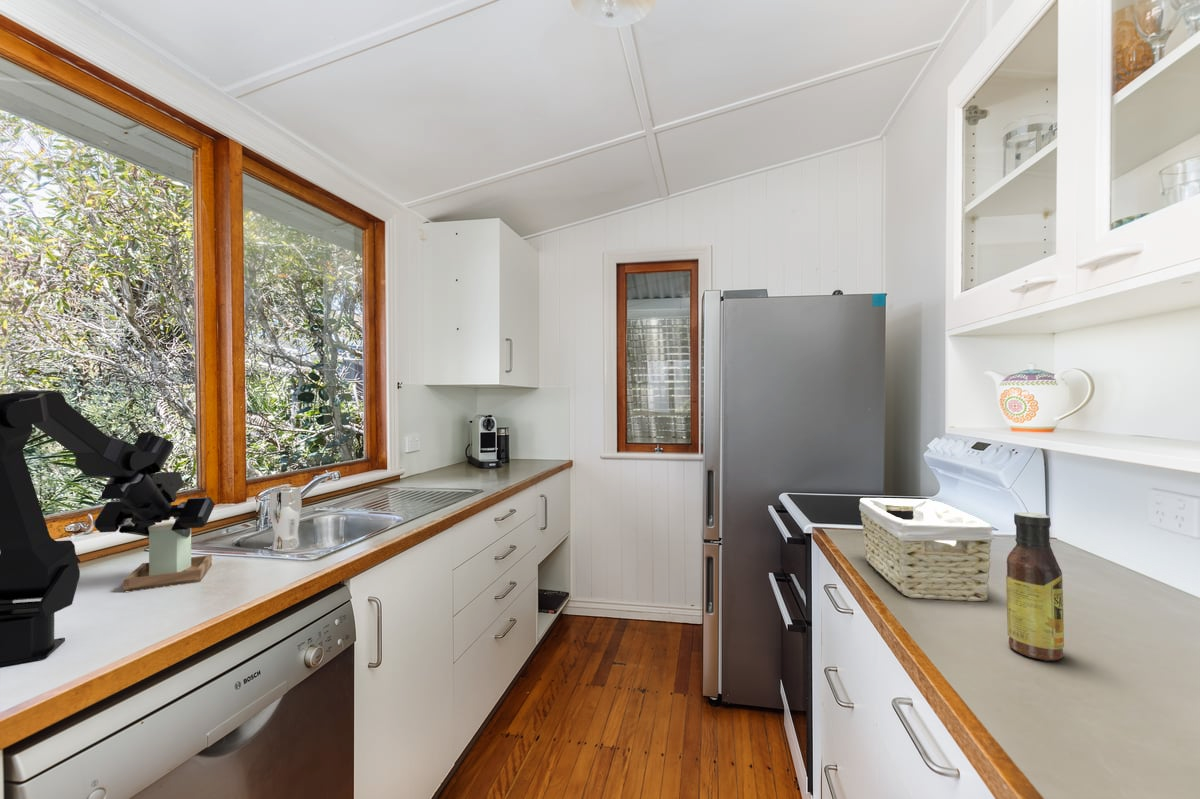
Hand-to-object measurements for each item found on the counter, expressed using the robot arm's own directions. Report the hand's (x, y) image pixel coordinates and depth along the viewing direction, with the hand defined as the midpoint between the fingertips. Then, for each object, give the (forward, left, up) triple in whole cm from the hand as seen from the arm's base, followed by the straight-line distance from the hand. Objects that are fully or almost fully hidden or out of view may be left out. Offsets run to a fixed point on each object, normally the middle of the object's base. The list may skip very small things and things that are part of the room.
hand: (174, 535), depth 108 cm
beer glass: (+13, -20, -9) cm, 25 cm away
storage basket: (-80, -134, -9) cm, 157 cm away
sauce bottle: (-105, -119, -9) cm, 159 cm away
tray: (-1, 0, -9) cm, 9 cm away
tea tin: (-1, 0, -7) cm, 7 cm away
